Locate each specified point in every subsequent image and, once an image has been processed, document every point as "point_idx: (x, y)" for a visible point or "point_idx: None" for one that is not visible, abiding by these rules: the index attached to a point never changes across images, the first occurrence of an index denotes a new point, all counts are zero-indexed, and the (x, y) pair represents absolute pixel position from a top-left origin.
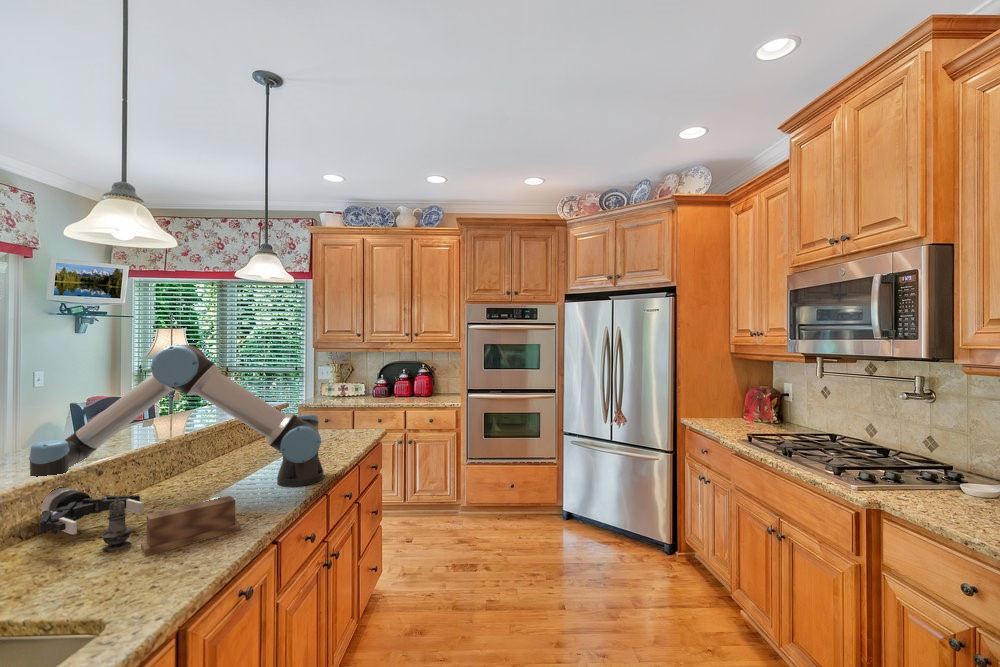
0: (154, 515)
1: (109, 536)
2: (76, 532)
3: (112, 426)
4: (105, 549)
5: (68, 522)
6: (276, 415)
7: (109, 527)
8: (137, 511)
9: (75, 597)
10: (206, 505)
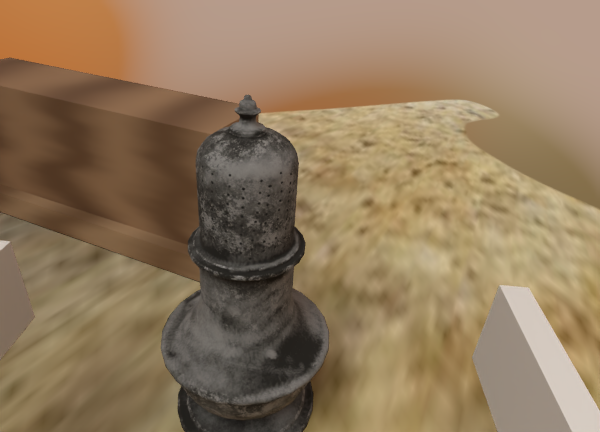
0: (215, 115)
1: (310, 306)
2: (476, 351)
3: None
4: (304, 400)
5: (558, 349)
6: None
7: (291, 300)
8: (2, 338)
9: (492, 202)
10: (76, 75)
